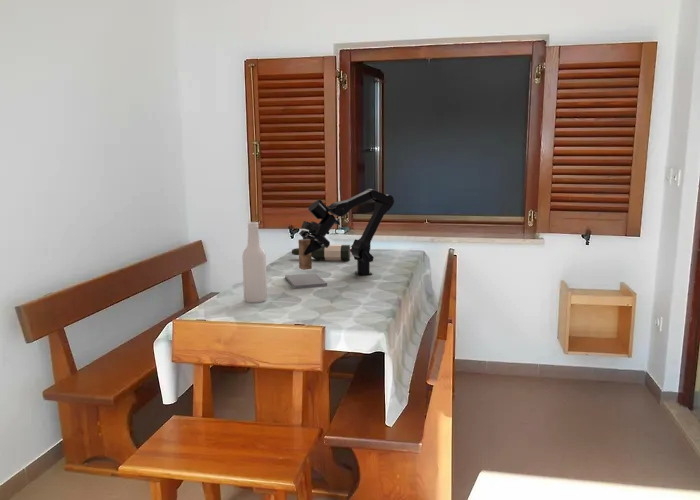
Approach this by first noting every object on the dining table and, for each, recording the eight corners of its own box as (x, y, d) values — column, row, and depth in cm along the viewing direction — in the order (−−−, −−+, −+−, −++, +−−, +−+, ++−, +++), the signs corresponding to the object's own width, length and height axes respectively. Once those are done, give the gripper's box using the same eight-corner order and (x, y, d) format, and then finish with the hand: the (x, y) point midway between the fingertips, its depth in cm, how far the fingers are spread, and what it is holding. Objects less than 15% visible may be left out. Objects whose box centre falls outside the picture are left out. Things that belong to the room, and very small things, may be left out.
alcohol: (245, 304, 213) (242, 224, 207) (243, 298, 221) (240, 221, 216) (268, 302, 215) (266, 223, 210) (265, 296, 224) (263, 220, 218)
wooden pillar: (307, 267, 249) (306, 238, 247) (311, 268, 246) (311, 240, 243) (299, 268, 247) (298, 239, 245) (303, 269, 244) (302, 241, 241)
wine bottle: (350, 241, 294) (292, 240, 297) (348, 250, 287) (289, 249, 290) (350, 255, 299) (294, 254, 302) (349, 264, 292) (291, 262, 295)
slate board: (327, 285, 240) (327, 283, 240) (294, 288, 236) (294, 285, 236) (315, 275, 259) (315, 273, 258) (285, 278, 255) (285, 275, 254)
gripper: (302, 212, 252) (280, 238, 248) (323, 216, 236) (299, 245, 233) (318, 228, 257) (297, 254, 254) (339, 233, 242) (317, 261, 238)
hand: (302, 253), depth 244 cm, fingers closed on wooden pillar, 4 cm apart
